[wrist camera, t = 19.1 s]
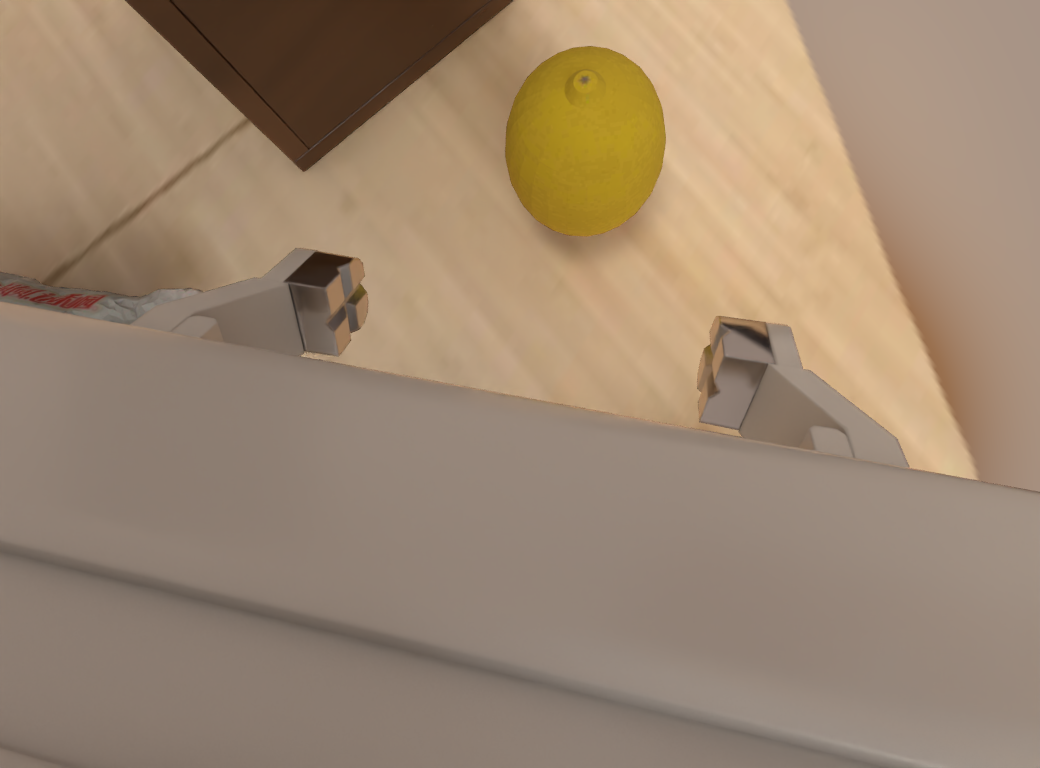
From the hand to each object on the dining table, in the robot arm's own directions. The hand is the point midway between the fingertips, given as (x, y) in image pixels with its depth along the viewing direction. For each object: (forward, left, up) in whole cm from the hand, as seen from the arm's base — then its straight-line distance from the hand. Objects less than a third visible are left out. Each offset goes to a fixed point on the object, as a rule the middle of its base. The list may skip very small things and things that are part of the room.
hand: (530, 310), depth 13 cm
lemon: (-5, +6, -11) cm, 13 cm away
